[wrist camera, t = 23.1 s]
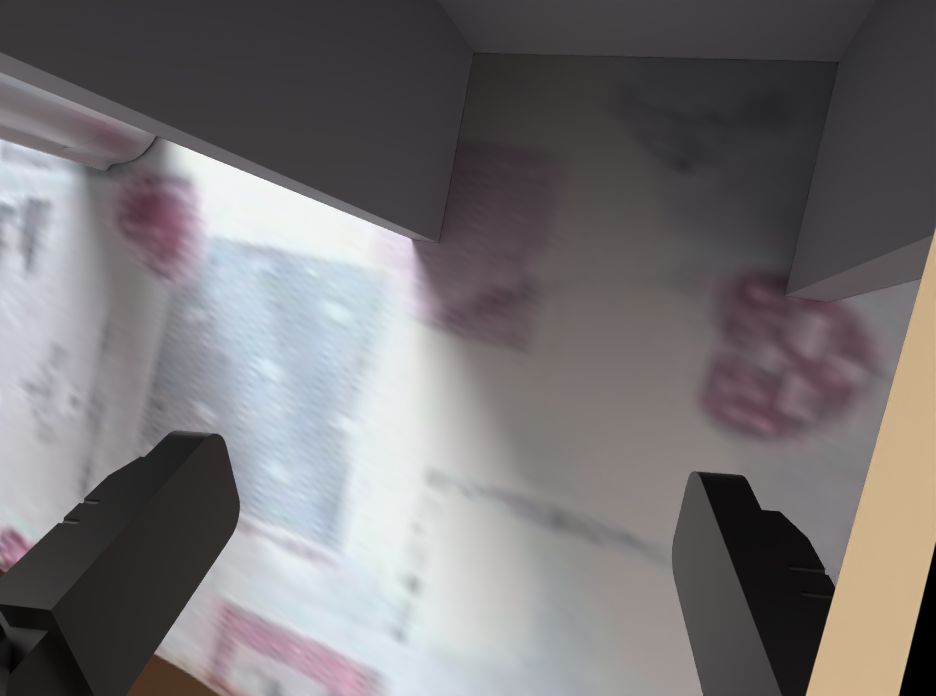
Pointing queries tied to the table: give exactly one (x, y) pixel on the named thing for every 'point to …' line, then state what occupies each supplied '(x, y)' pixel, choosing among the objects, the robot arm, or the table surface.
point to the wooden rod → (892, 539)
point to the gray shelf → (445, 85)
